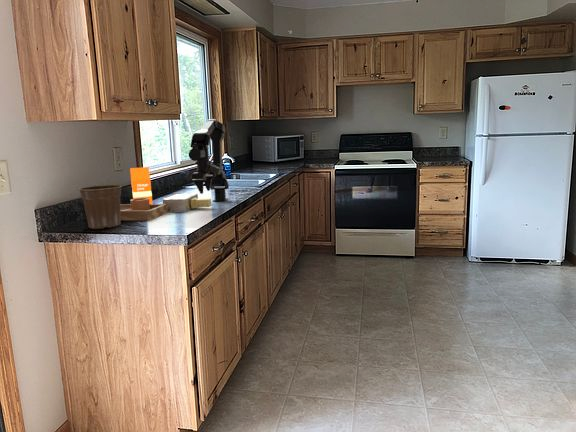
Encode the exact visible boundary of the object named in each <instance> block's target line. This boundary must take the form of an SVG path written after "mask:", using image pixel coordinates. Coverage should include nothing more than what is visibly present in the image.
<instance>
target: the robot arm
mask: <svg viewBox="0 0 576 432" xmlns="http://www.w3.org/2000/svg"><path fill="white" fill-rule="evenodd" d="M226 131H227V130H226V127H225V125H224V124H223V123H222V122H220V121H218V119H215V118H211V119H206V121H205V123H204V125H203V126H202V127H201V129H199V130H196V131H194V132H193V134H192V136H191V141H190V148H191V149H190V150H189V151H188V157H189V159H190V160H191V161H193V162H194V163H195V165H196V167H197V168H196V170H195V172H193V173H191V174H190V180H192V181H193V183H194V185H195V186H196V188H197V190H198V192H199V194H201V195H203V194H204V185H205V188H206V190H207V192H209V191H210V190H211V191H212V190H213V191H214V192H213V193H214V199H213V200H212V202H225V201H227V200H229V198H227V196H226V195H227V194H226V190H228V189H230V188H229V187H230V185H229V182H228V179H227V176H226V174H225V172H224V171H223V149H222V147H223V141H224V139H225V136H226V135H225V134H226ZM210 142H212V161H211V160H210V157H209V156H210V155H209V146H210Z"/></svg>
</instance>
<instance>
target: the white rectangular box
mask: <svg viewBox="0 0 576 432" xmlns="http://www.w3.org/2000/svg"><path fill="white" fill-rule="evenodd" d="M198 195H199V194H198V193H177V194H173V195H171V196H168V197H165V198H162V204H167V208H168V213H186V212H189V211H191V210H192V209H194V208H191V207H190V199H193V198H198V199H199V197H198Z"/></svg>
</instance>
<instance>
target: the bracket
mask: <svg viewBox="0 0 576 432" xmlns="http://www.w3.org/2000/svg"><path fill="white" fill-rule="evenodd" d="M129 201H130V202H129V203H130V204H131V209H126V210H121V211H148V210H150V202H149V198H136V199H133V198H131V199H130V200H129Z"/></svg>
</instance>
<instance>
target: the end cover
mask: <svg viewBox="0 0 576 432" xmlns="http://www.w3.org/2000/svg"><path fill="white" fill-rule="evenodd" d="M211 206H212V199H211V198H199V197H198V198H193V199H190V207H191V208H193V209H196V208H209V207H210V208H211Z"/></svg>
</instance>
